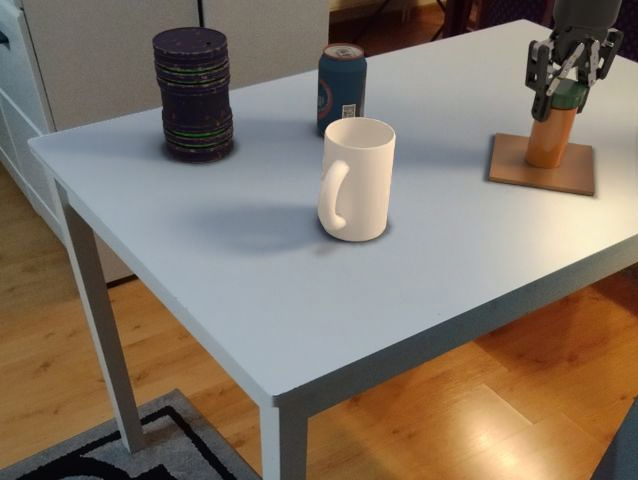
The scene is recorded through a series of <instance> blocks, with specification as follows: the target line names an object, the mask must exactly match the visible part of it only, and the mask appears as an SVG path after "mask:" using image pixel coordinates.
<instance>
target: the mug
mask: <svg viewBox="0 0 638 480" xmlns="http://www.w3.org/2000/svg"><path fill="white" fill-rule="evenodd" d="M395 146H396V133H395V130H394V129H393V127H391V126H390V125H389V124H387V123H385V122H383V121H381V120H378V119H375V118H371V117H363V118H361V117H353V118H344V119H340V120H337V121H335V122H333V123H331V124H330V125H329V126H328V127H327V129H326V130H325V136H324V144H323V158H322V160H321V164H322V165H323V169H322V170H321V175H320V180H322V183H321V185H320V189H319V192H318V197H317V215H318V218H319V221H320V223H321V225H322V227H323V228H324V230H325V232H327V234H329V235H331V236H332V237H334V238H336V239H339V240H343V241H347V242H365V241H370V240H374V239H375V238H377V237H379V236H380V235H382V234H383V232H384V231H385V230H386V227H387V222H388V221H387V220H388V212H389V210H388V209H389V203H390V202H389V201H390V193H391V185H392V184H391V183H392V175H393V166H394V158H395V157H394V156H395Z"/></svg>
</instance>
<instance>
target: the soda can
mask: <svg viewBox="0 0 638 480" xmlns="http://www.w3.org/2000/svg"><path fill="white" fill-rule="evenodd" d="M317 63H318V68H317V97H316V98H317V99H316V127H317V128H318V130H319V131H320V133H321V135H322V136H324V137H325V130H326V129H327V127H328V126H329V125H330V124H331V123H333V122H335V121H337V120H340V119H344V118H353V117H361V118H365V117H364V114H365V102H366V89H367V88H366V87H367V73H368V62H367V59H366V57H365V50H364V49H363V47H361V46H359V45H356V44H353V43H346V42H337V43H331V44H327V45H326V46H324V47H323V49H322V54H321V55H320V57H319V59H318V61H317Z"/></svg>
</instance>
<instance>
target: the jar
mask: <svg viewBox="0 0 638 480" xmlns="http://www.w3.org/2000/svg"><path fill="white" fill-rule="evenodd" d="M578 107H579V106H578ZM578 107H575V108H559V107H554V106H551V107H550V110H549V114H548V118H547V121H545V122H542V123H540V122H538V121H537V120H535V119H533V122H532V126H531V130H530V134H529V137H530V138H529V142H528V146H527V150H526V154H525V159H526V161H527V162H528V163H530V164H531V165H534V166H536V167H540V168H555V167H558V166H560V165H561V164H562V161H563V158H564V154H565V151H566V147H567V144H568V143H569V141H570V138H571V134H572V130H573V127H574V123H575V119H576V116H577V114H576V113H577V110H578Z"/></svg>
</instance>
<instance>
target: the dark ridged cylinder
mask: <svg viewBox="0 0 638 480" xmlns="http://www.w3.org/2000/svg"><path fill="white" fill-rule="evenodd" d="M151 43H152V49H153V58H154V59H153V64H154V71H155V75H156V76H155V79H156V83H157V86H158V87H159V90H160V96H161V104H162V109H161V121H162V130H163V135H164V140H165V142H166V144H165V145H166V147H165V148H166V152H167V154H168V155H169V156H170V157H171V158H173V159H175V160H177V161H180V162H183V163H189V164H208V163H213V162H217V161H221V160H224V159H225V158H227V157H228V156H230V155H231V154H232V153H233V151H234V149H235V142H234V130H235V129H234V127H235V126H234V120H233V119H234V118H233V117H234V114H233V109H232V107H231V104H230V87H229V86H230V83H231V73H230V68H231V66H230V57H229V49H228V37H227V35H226V34H225V33H224V32H221V31H220V30H217V29H214V28H209V27H204V26H203V27H202V26H182V27H173V28H169V29H165V30H162V31H160V32H157V34H155V35H153V37H152V38H151Z"/></svg>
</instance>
